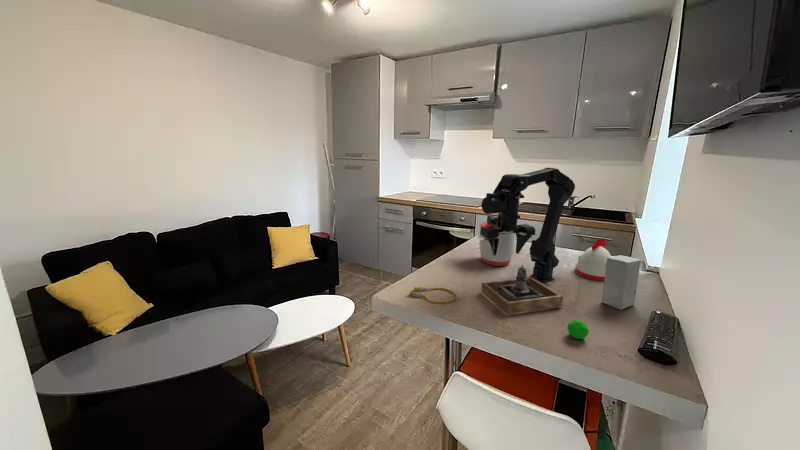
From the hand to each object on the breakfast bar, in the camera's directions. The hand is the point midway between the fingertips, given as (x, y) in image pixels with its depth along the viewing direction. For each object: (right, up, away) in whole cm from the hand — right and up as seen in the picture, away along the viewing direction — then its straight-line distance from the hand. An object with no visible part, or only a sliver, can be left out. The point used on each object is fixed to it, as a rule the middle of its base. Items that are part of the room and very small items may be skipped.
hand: (505, 254), depth 115 cm
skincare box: (+34, -16, -8) cm, 38 cm away
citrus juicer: (+4, -7, +29) cm, 30 cm away
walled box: (+3, -15, -6) cm, 16 cm away
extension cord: (-26, -15, -3) cm, 30 cm away
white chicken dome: (+42, -10, +17) cm, 46 cm away
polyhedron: (+10, -20, -27) cm, 36 cm away
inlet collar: (+3, -15, -6) cm, 16 cm away
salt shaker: (+2, -15, -6) cm, 16 cm away
